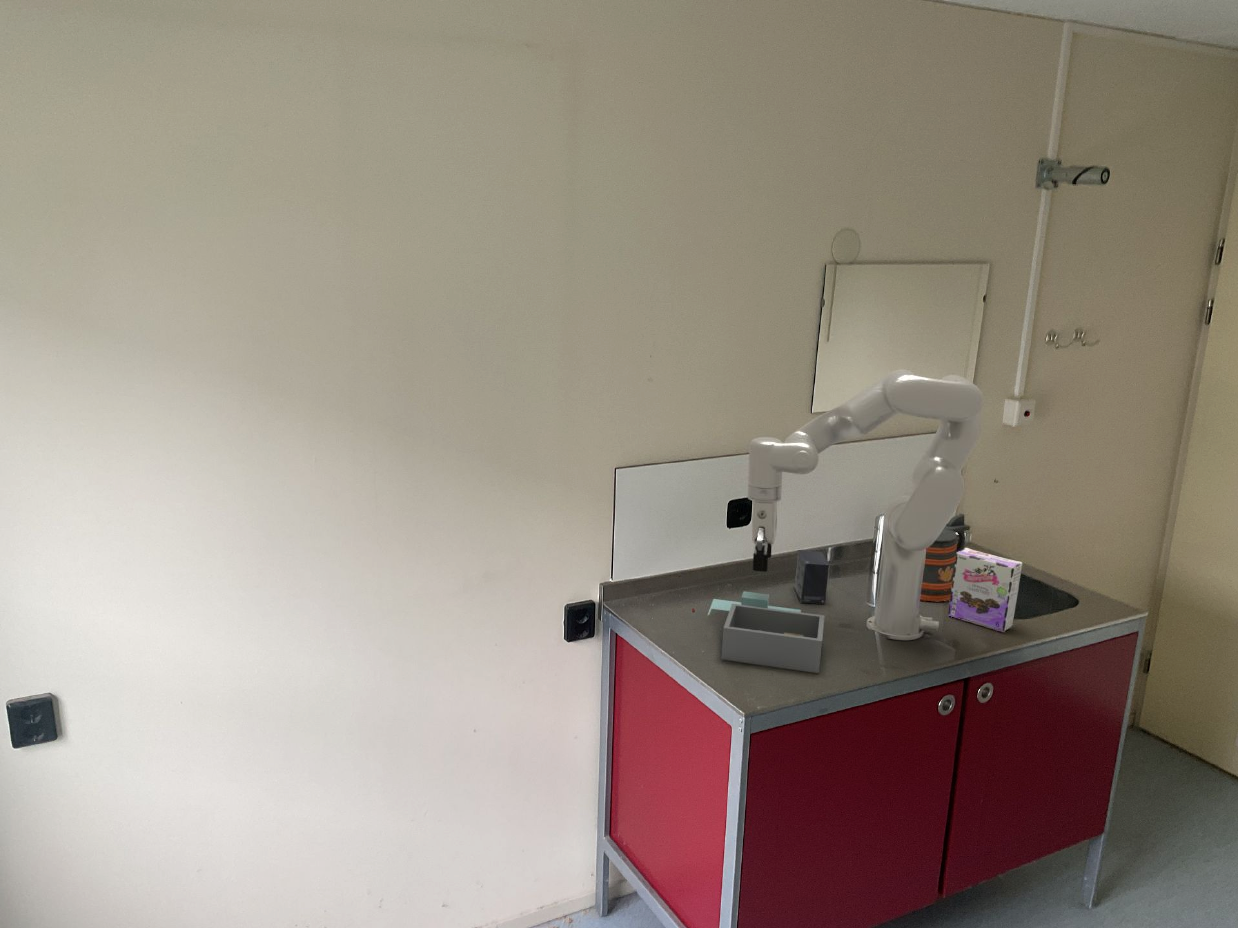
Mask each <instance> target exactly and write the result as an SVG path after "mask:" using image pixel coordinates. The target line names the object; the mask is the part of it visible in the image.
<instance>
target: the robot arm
mask: <svg viewBox="0 0 1238 928" xmlns="http://www.w3.org/2000/svg"><path fill="white" fill-rule="evenodd" d="M984 403H985V401H984V394H983V392H982V391H981V389H980V388H979V386H977V385H976V384H975V383H973V382H972V381H970V380H968V379H967V378H965V377H963V376H960V375H958V374H950V375H945V376H944V377H942V378H941V379H940V378H931V377H926V376H925V377H924V376H920V375H916V373H914V372H913V371H910V370H908V369H905V368H904V369H903V368H901V369H900V368H899V369H896V370H893V371H890V372H889V373H888V374H886V375H884V376H883V377H881V378H880V379H878V380H877V381H874V383H872V384H871V385H870V386H867V387H866V388H865V389H863V390H862V391H860V392H859V393H857V394H856V395H854V396H852V397H851V398H850V399H848V400H846V401H845V402H844V403H841V404H840V405H837V406H835V407H833V408H832V409H830V410H828V411H827V412H824V413H822V414H820V415H819V416H817V417H815V418H813V419H812V420H810V421H808V422H807V423H806V424H804V425H802V426H801V427H800V428H798V429H797V430H795V431H794V432H793V433H790V435H789V436H787V438H786V439H785V440H784V442H783V441H781V440H780V438H776V437H772V436H771V437H770V436H760V437H756V438H755V437H754V438H753V439H751V441H750V443H749V449H748V451H749V452H748V478H747V479H748V482H747V499H748V500H750V501H752V514H751V515H752V518H751V528H752V529H751V535H752V536H751V538H752V542H753V544H754V550H753V552H754V553H753V554H752V555H753V558H752V570H753V571H754V572H768V568H769V567H768V565H769V564H768V562H769V559H770V558H772V547H773V546H772V545H774V544H775V542H776V539H777V534H778V526H777V525H778V522H777V521H778V502H780V501H782V491H783V486H782V485H783V484H782V483H783V473H787V474H793V475H803V476H804V475H807V474H810V473H812V472H813V471H814V470H815V469H816V468H817V467H818V464H819V461H820V459H819V454H821V453H822V452H823V451H825V450H827V449H828V448H830V447H831V446H833V445H835V444H837V443H839V442H841V441H845V440H847V439H855V438H861V437H865V436H866V435H868V434H869V433H871V432H873V431H874V430H876V429H877V428H879V427H880V426H881V425H884V424H885V423H887V422H888V421H890V420H891V419H893V418H894V417H896V416H898V415H899V414H902V415H906V416H910V417H911V416H912V417H918V418H923V419H932V420H940V422H939V425H938V428H937V430H936V433H935V434H934V436H933V438H932V439H931V441H930V443H929V445H928V446H927V449H926V450H925V452H924V453H923V455H922V456H921V458H920V459H919V460H918V462H917V464H916V465H915V467H914V468H913V470H912V474H911V482H912V487H914V491H913V492H912V494H911V495H908V494H907V495H899V496H897V497H895V498H894V499H892V500H891V501H890V502H889V503H888V505H887V506H886V508H885V510H884V514H883V520H882V521H883V522H882V523H883V524H882V528H883V529H882V546H881V547H882V549H881V555H880V556H881V558H880V565H879V566H880V567H879V573H878V583H877V593H876V599H875V600H876V601H875V608H874V615H873V616H871V617H869V618H868V619H867V620H866V628H867V629H868V630H872V631H875V632H877V633H880V634H882V635H886V638H887V639H891V640H896V641H912V640H913V641H914V640H917V639H920V638H921V637H922V636H923V635H924V629H925V628H926V629H929V630H939V627H940V622H939V620H933V617H929V616H927V617H926V616H923V615H921V613H920V602H921V600H920V596H921V588H922V580H923V572H924V566H925V557H926V548H928V547H929V546H931V545H932V544H933V543H934V542H935V540H936V539H937V538H938V536H939V535H940V533H941V532H942V530H943V529H944V527H945V526H946V524H948V523H949V521H950V520H951V519H952V516H953V515H954V513H955V512H956V510H957V509H958V507H959V505H960V502H961V501H962V499H963V497H964V492H965V479H964V477H963V475H962V473H961V472H962V469H964V467H965V465H966V463H967V461H968V459H969V457H970V456H971V454H972V452H973V450H974V448H975V447H976V445H977V443H978V440H979V436H980V433H981V427H982V414H981V412H982V410H983V407H984Z"/></svg>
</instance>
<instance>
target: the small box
mask: <svg viewBox="0 0 1238 928" xmlns="http://www.w3.org/2000/svg"><path fill="white" fill-rule="evenodd" d="M829 571H830V563H829V562H828V560H827V558H826V557H825V555H824V553H823V552H822V551H818V550H817V551H816V550H807V549H806V550H803V549H798V550H797V560H796V570H795V576H794V577H795V579H794V586H793V589H794V592H795V593H796V595H797V598H798V600H799V603H801V604H816V605H826V597H827V590H828V579H829Z"/></svg>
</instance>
